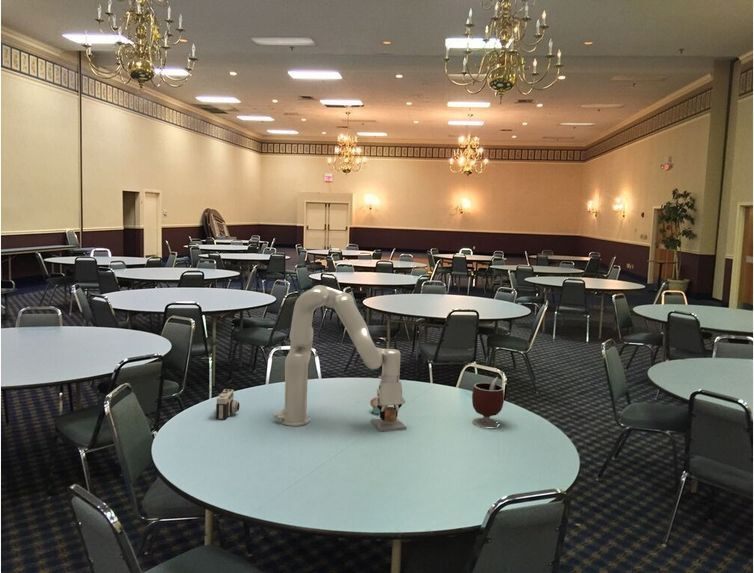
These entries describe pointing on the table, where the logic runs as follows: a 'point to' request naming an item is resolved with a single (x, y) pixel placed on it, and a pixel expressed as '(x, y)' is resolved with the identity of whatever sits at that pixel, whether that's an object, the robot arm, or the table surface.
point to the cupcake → (374, 405)
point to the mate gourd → (487, 402)
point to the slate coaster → (388, 425)
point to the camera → (226, 405)
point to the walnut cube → (390, 414)
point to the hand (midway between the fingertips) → (388, 418)
